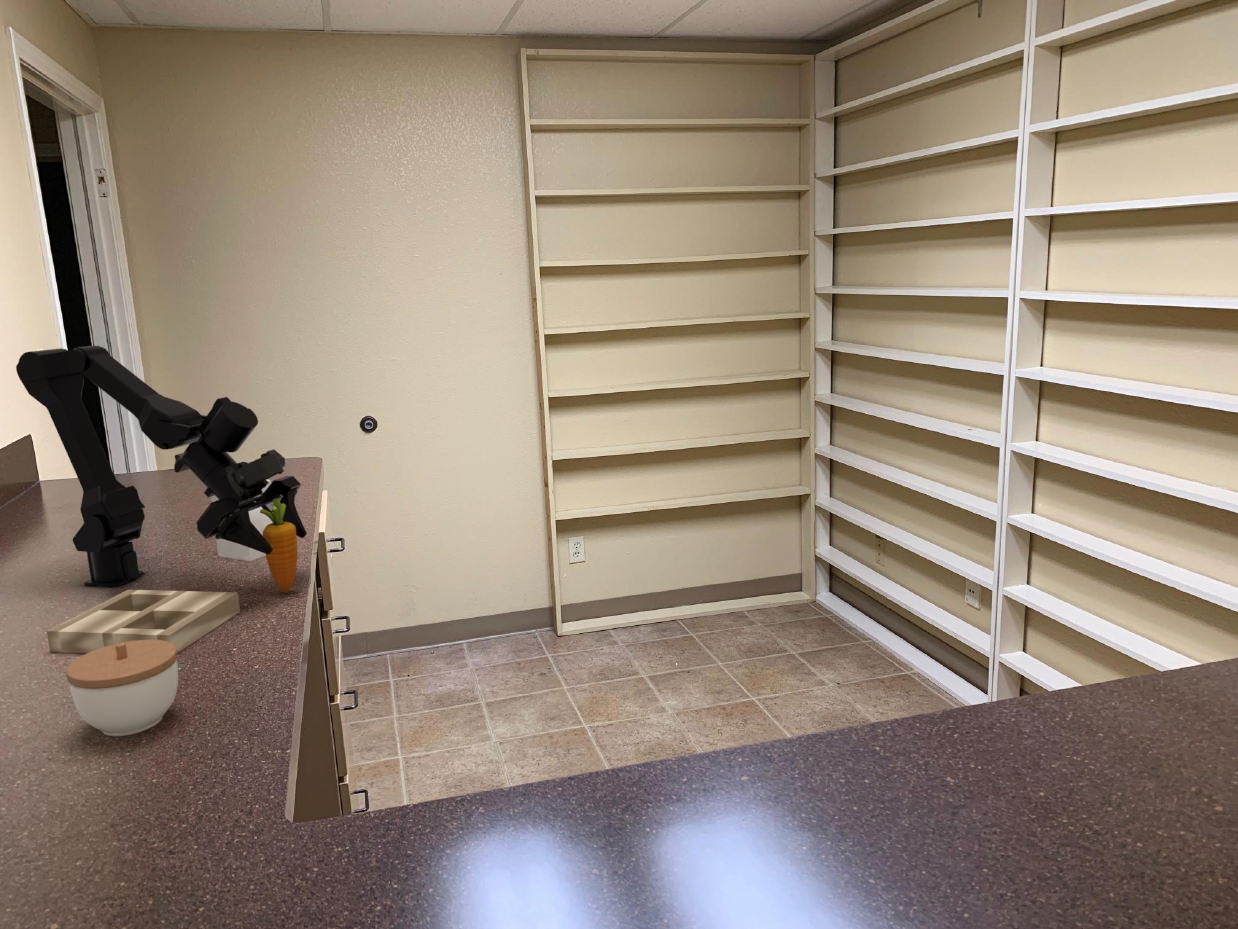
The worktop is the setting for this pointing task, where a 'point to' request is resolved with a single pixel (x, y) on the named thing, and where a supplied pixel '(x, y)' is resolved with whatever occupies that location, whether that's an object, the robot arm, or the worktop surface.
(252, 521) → the white angular block
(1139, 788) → the worktop surface
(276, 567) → the carrot
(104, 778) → the worktop surface
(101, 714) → the lidded jar
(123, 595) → the socket board
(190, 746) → the worktop surface
